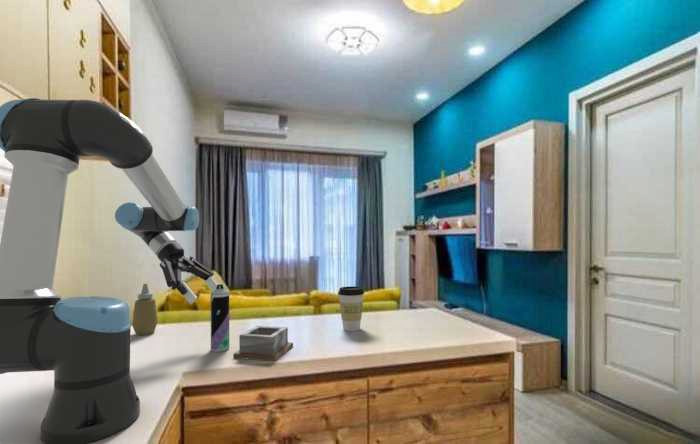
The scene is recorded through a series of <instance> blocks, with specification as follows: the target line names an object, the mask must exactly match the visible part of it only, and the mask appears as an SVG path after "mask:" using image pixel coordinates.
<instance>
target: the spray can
mask: <svg viewBox="0 0 700 444" xmlns="http://www.w3.org/2000/svg"><path fill="white" fill-rule="evenodd" d="M229 349H230V292H229V290H227V289H226V288H225V287H224V284H218V285H217V287H216V289H215V290H214V291H211V292H210V351H211V352H214V353H220V352H225V351H228V350H229Z"/></svg>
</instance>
